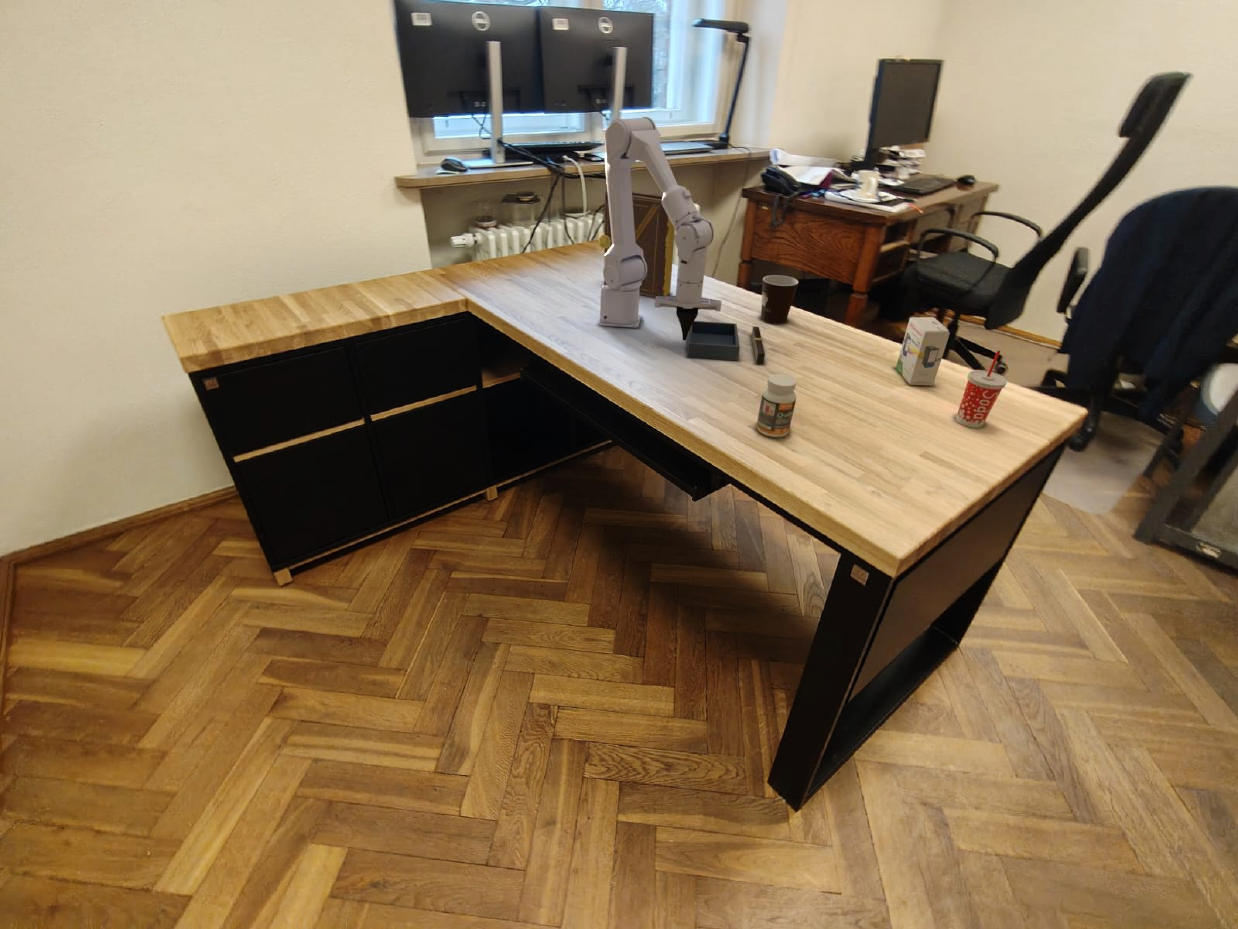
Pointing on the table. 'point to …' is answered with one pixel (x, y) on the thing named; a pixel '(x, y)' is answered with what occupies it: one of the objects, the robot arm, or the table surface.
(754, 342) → the stop rail
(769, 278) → the coffee mug
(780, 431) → the pill bottle
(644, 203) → the book
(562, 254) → the table surface
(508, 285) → the table surface
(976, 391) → the beverage cup
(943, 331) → the ink box
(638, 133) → the robot arm
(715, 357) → the tray
